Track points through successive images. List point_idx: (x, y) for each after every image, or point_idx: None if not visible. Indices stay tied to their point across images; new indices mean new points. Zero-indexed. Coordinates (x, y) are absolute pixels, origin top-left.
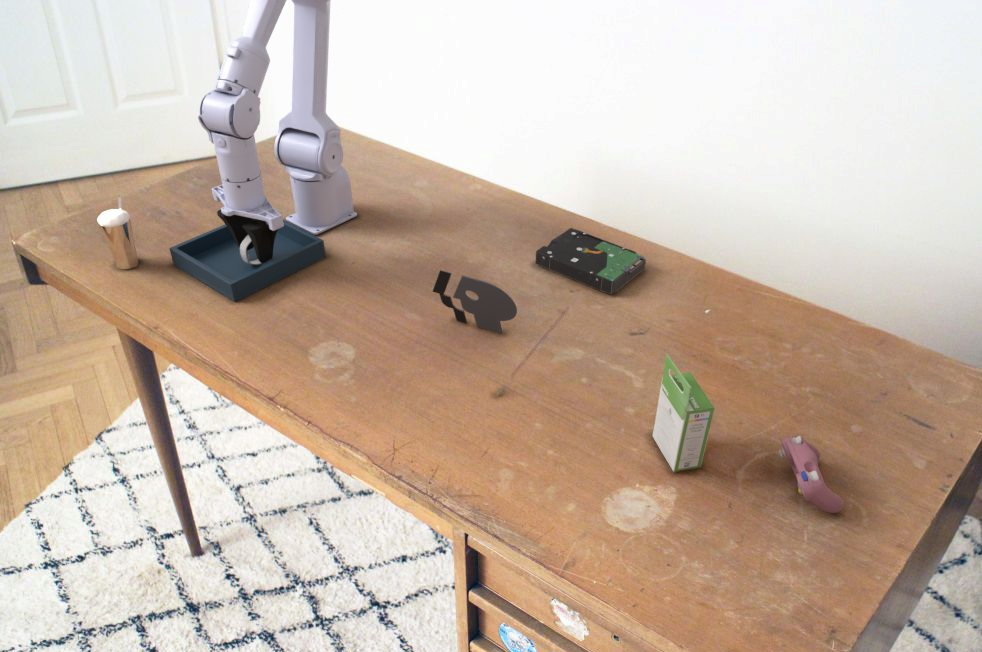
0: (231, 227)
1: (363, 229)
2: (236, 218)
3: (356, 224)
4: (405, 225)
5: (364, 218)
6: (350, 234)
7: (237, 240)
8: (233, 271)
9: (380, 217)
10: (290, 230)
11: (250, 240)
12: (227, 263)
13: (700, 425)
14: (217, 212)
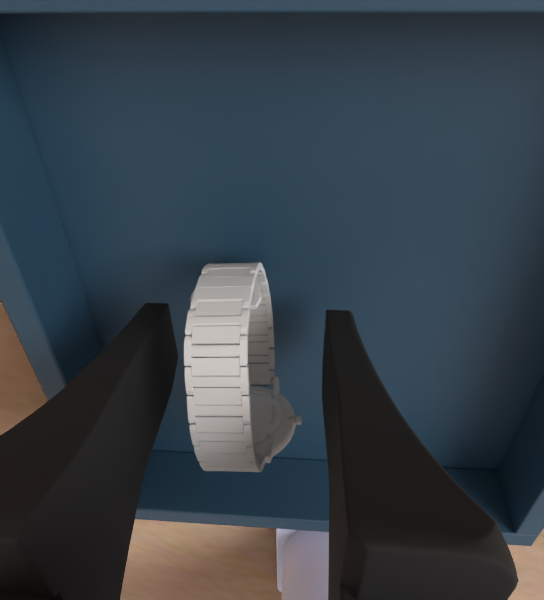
0: (342, 447)
1: (205, 556)
2: (338, 539)
3: (245, 562)
4: (147, 592)
5: (257, 580)
6: (206, 534)
7: (332, 363)
8: (268, 168)
9: (229, 593)
10: (299, 501)
11: (189, 404)
12: (375, 200)
13: None
14: (493, 563)
